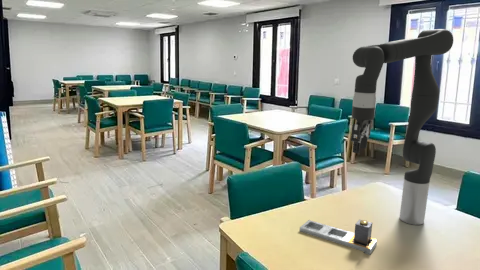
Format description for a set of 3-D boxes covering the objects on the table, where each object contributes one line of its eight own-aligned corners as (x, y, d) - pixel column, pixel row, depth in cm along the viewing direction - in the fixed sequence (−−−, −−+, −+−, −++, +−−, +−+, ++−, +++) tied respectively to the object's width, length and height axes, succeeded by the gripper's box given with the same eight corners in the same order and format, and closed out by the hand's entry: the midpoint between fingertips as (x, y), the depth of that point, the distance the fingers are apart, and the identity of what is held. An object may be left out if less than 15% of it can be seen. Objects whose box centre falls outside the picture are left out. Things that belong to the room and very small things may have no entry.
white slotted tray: (308, 224, 143) (308, 219, 142) (376, 245, 128) (377, 239, 128) (299, 232, 136) (299, 227, 136) (369, 254, 122) (370, 248, 121)
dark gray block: (357, 240, 130) (359, 217, 128) (370, 243, 128) (372, 221, 126) (353, 245, 126) (355, 222, 125) (366, 249, 124) (368, 225, 122)
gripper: (368, 108, 119) (364, 156, 122) (380, 104, 130) (375, 148, 134) (346, 106, 123) (342, 152, 126) (359, 102, 134) (355, 145, 138)
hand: (359, 150), depth 130 cm, fingers open, 8 cm apart
